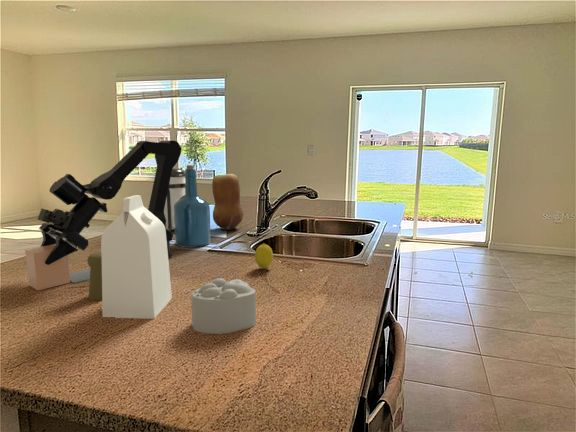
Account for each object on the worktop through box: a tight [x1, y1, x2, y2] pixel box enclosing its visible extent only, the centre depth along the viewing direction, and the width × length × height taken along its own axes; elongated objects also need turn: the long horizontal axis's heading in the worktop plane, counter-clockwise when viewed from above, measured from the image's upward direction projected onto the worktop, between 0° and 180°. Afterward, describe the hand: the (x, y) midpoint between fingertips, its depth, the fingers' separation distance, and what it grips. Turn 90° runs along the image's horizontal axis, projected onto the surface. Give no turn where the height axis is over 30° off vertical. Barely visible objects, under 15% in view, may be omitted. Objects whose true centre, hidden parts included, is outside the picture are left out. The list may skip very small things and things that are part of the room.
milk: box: [100, 194, 173, 320], centre depth 91 cm, size 12×12×26 cm
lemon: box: [254, 243, 274, 270], centre depth 122 cm, size 6×6×8 cm
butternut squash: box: [211, 173, 245, 231], centre depth 178 cm, size 14×13×25 cm
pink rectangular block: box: [24, 244, 71, 292], centre depth 108 cm, size 8×6×10 cm
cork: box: [86, 251, 102, 301], centre depth 100 cm, size 6×6×11 cm
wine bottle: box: [174, 164, 211, 248], centre depth 151 cm, size 14×13×30 cm
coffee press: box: [164, 167, 185, 234], centre depth 177 cm, size 17×16×30 cm
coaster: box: [69, 268, 91, 284], centre depth 116 cm, size 11×9×1 cm
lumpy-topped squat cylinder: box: [190, 277, 257, 335], centre depth 85 cm, size 10×13×9 cm
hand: (41, 261), depth 107 cm, fingers closed on pink rectangular block, 6 cm apart
